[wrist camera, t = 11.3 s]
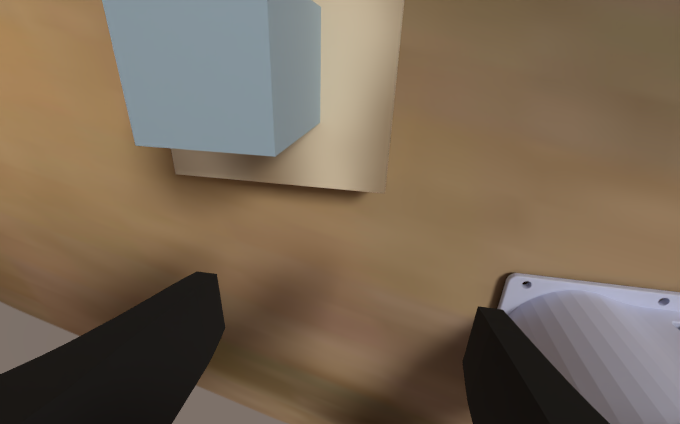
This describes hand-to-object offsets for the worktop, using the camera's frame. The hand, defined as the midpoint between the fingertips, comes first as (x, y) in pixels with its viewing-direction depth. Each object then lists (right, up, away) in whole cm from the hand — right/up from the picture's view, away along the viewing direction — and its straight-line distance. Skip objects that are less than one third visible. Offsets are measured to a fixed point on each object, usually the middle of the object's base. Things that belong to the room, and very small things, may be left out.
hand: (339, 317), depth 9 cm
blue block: (-3, +9, +5) cm, 11 cm away
